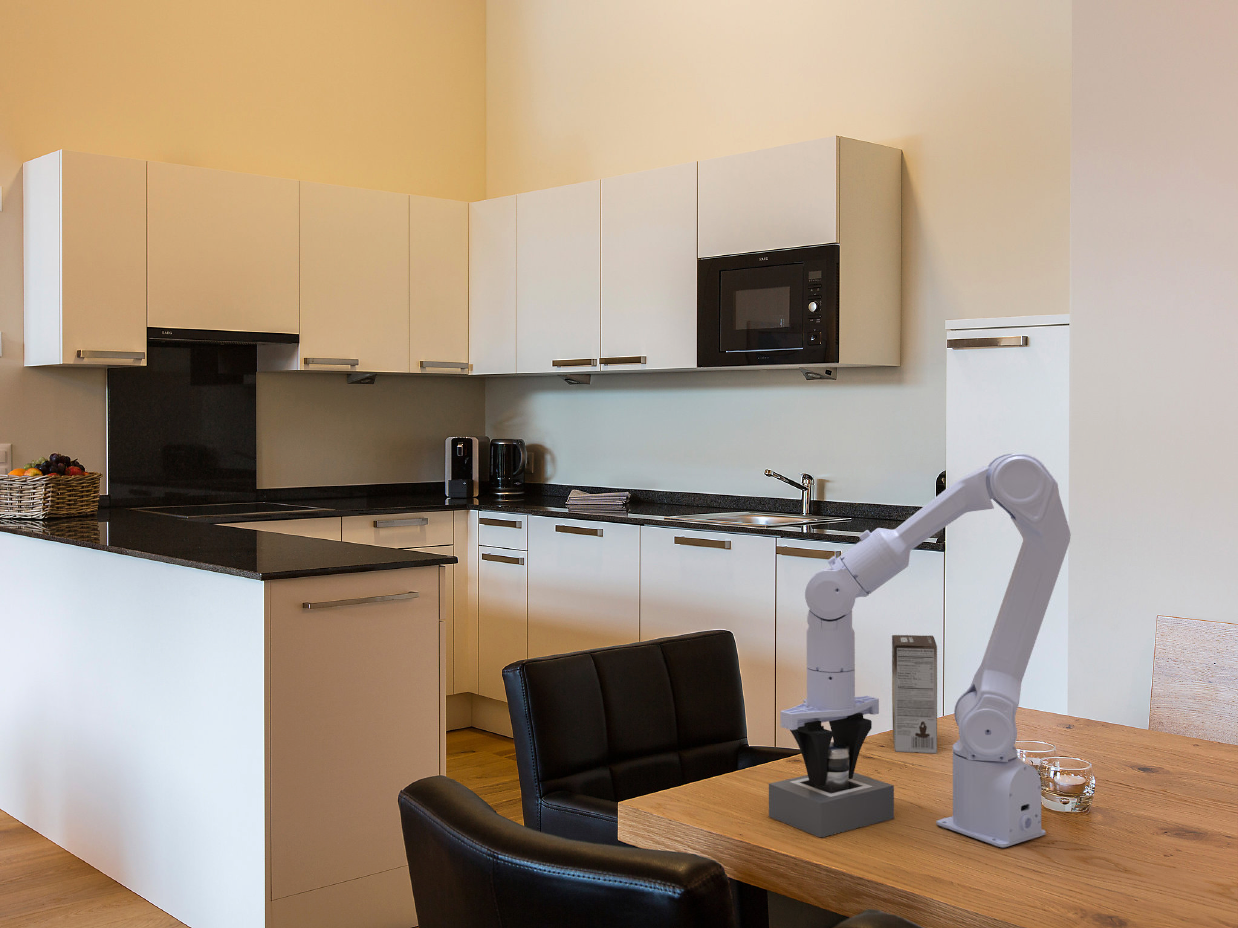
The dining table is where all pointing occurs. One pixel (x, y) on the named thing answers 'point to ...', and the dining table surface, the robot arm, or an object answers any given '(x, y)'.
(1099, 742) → the dining table surface
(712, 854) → the dining table surface
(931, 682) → the coffee box
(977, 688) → the robot arm
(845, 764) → the lens
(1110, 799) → the dining table surface
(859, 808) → the grey hollow block
